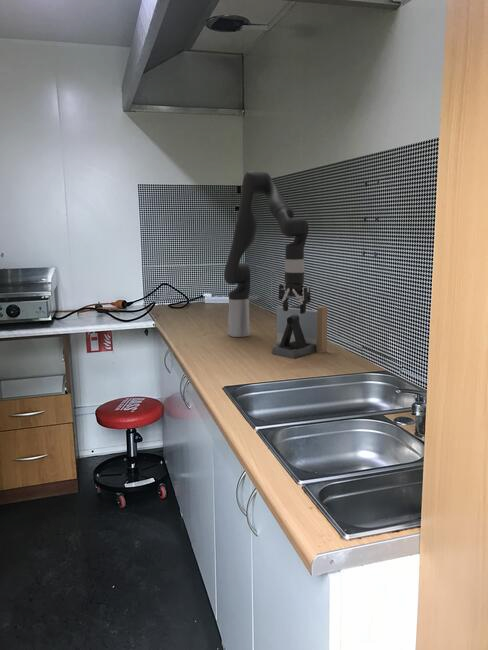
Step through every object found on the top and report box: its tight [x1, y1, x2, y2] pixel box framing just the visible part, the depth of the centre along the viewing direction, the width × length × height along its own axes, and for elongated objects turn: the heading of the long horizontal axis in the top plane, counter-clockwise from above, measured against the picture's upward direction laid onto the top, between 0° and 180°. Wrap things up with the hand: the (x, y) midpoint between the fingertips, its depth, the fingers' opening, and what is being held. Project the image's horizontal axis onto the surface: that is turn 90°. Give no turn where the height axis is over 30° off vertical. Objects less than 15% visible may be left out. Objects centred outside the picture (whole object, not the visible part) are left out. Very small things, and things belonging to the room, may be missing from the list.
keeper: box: [271, 341, 317, 359], centre depth 210 cm, size 11×14×3 cm
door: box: [276, 305, 328, 354], centre depth 217 cm, size 24×3×18 cm, turn 45°
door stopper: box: [279, 315, 306, 348], centre depth 208 cm, size 9×6×12 cm, turn 63°
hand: (294, 312), depth 207 cm, fingers open, 8 cm apart
